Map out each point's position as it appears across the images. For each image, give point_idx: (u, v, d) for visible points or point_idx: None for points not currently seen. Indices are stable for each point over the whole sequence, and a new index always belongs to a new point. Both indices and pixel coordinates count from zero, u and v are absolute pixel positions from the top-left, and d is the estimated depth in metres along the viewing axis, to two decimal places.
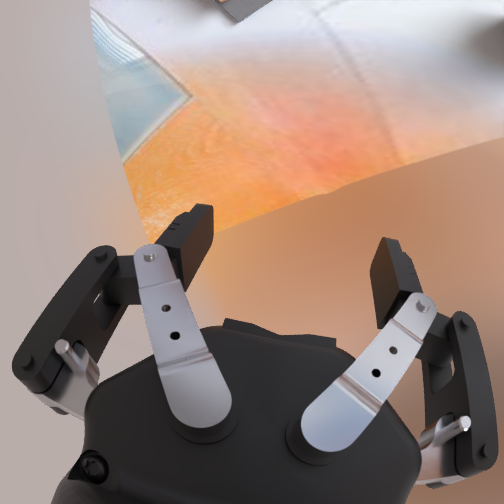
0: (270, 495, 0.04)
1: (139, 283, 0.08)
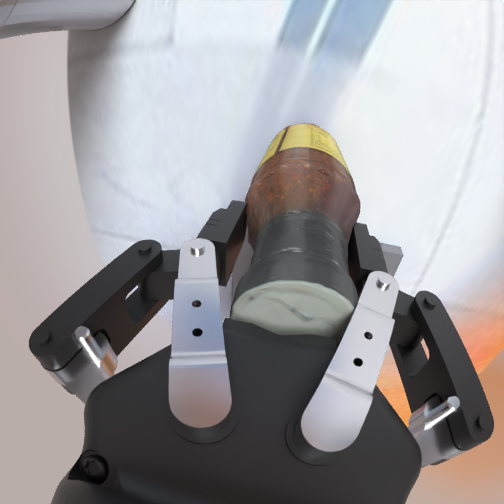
0: (270, 495, 0.04)
1: (179, 274, 0.08)
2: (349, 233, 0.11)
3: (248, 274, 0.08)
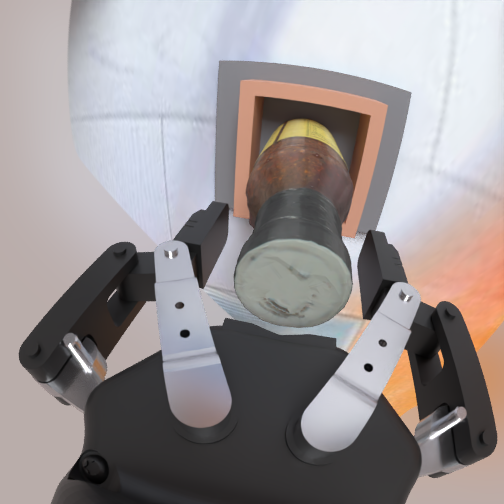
0: (270, 495, 0.04)
1: (157, 278, 0.08)
2: (343, 210, 0.12)
3: (250, 239, 0.09)
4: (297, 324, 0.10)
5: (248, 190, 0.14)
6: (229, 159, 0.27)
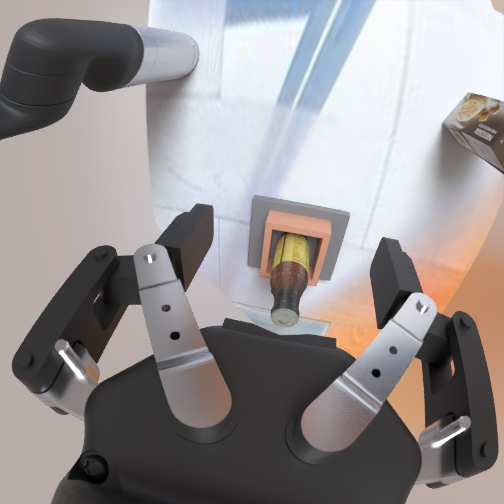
0: (270, 495, 0.04)
1: (139, 283, 0.08)
2: (301, 292, 0.42)
3: (274, 306, 0.39)
4: (285, 326, 0.39)
5: (271, 283, 0.43)
6: (256, 245, 0.57)
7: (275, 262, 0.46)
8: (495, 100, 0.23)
